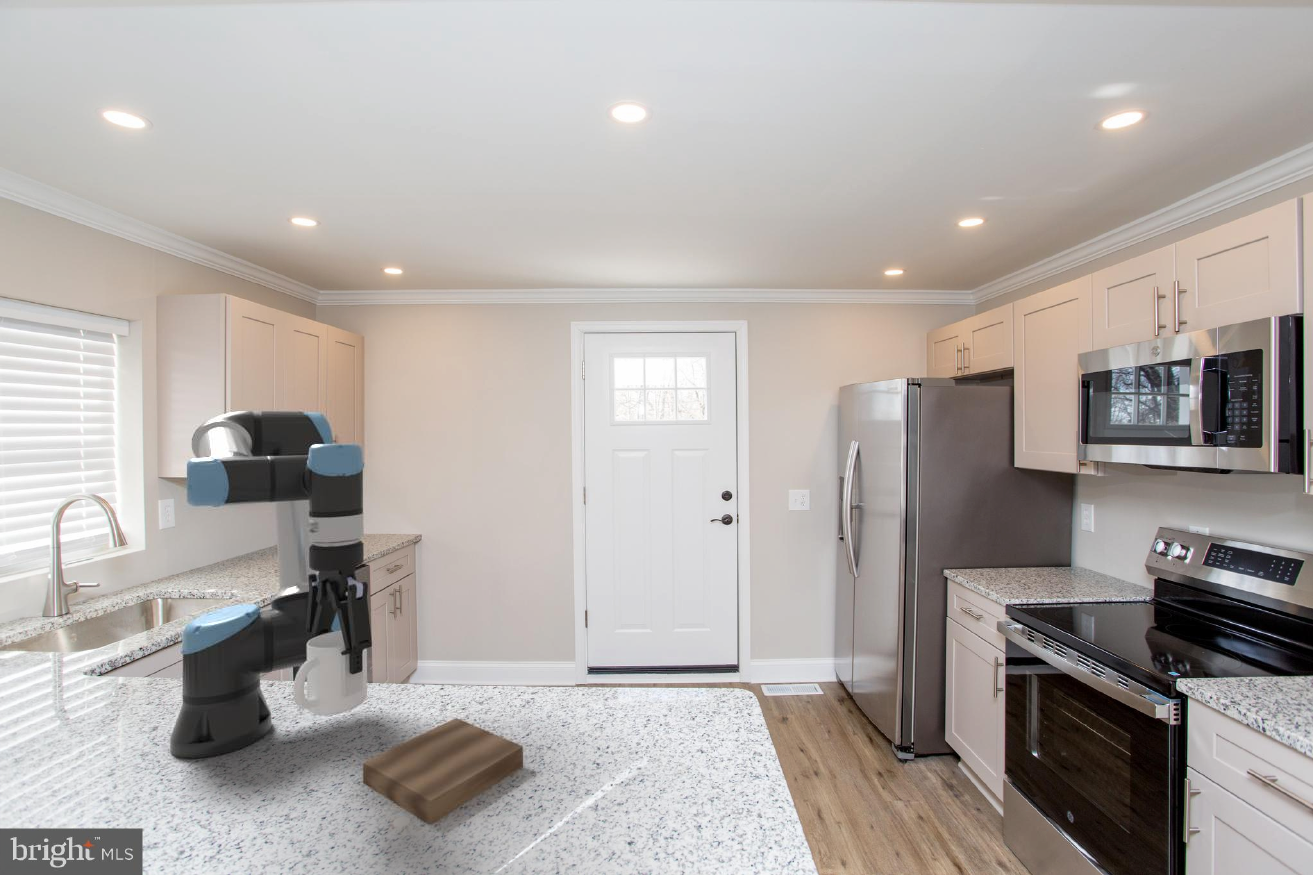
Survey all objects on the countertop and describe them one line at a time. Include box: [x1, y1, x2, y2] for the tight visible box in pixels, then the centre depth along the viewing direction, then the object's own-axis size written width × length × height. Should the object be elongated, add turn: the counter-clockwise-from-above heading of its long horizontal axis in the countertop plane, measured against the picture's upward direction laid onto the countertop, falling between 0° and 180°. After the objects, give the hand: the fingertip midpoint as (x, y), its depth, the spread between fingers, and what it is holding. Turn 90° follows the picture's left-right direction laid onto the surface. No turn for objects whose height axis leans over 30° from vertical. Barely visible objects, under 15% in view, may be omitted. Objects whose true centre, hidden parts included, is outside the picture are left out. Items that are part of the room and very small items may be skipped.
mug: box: [292, 631, 368, 716], centre depth 90 cm, size 12×8×10 cm
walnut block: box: [362, 717, 524, 826], centre depth 98 cm, size 18×18×4 cm
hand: (337, 685), depth 92 cm, fingers closed on mug, 8 cm apart
